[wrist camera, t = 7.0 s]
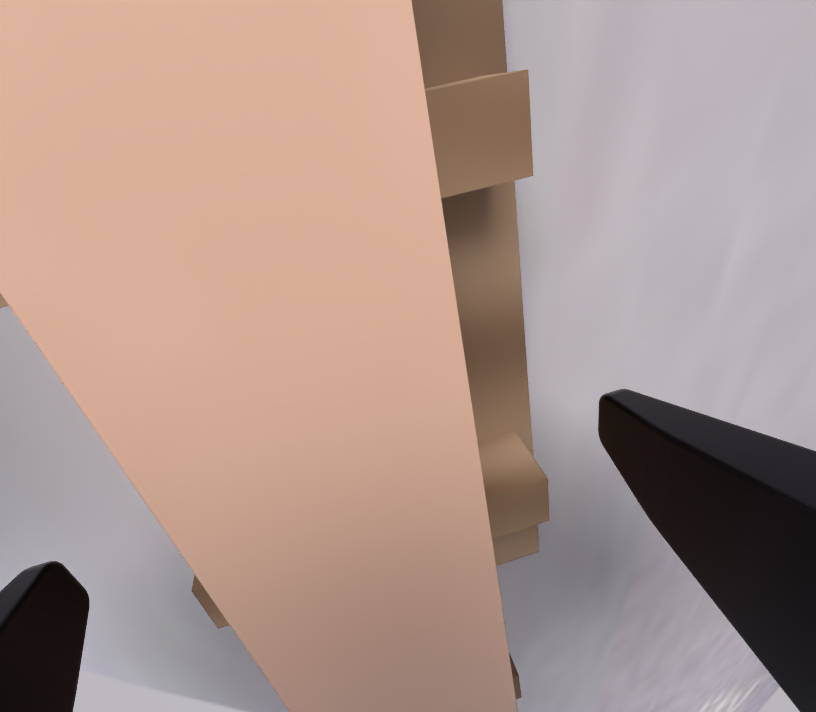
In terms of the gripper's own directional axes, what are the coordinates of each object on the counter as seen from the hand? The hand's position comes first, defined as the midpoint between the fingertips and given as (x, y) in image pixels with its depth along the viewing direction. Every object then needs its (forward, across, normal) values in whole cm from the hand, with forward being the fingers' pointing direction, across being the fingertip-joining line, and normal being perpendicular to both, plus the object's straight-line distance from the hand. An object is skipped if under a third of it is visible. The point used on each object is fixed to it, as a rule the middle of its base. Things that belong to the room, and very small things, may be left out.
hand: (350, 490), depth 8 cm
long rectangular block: (+2, 0, 0) cm, 2 cm away
